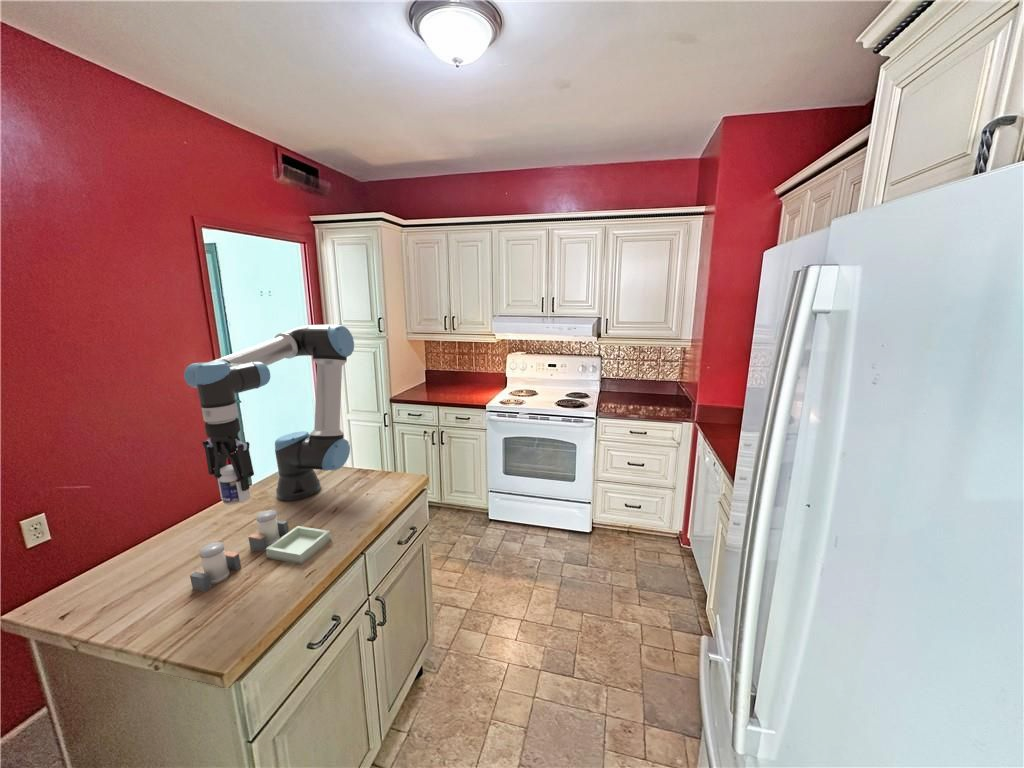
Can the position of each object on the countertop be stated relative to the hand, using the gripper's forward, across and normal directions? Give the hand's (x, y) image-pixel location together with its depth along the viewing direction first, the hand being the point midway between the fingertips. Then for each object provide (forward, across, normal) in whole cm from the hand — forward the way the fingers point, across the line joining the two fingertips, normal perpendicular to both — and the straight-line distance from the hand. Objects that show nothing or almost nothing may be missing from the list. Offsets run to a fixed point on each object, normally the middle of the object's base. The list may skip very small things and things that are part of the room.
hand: (235, 499), depth 111 cm
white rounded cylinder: (+19, 0, -9) cm, 20 cm away
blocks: (+19, 0, 0) cm, 19 cm away
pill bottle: (+1, 0, 0) cm, 1 cm away
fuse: (+19, 0, +8) cm, 20 cm away
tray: (+19, +12, +7) cm, 23 cm away
